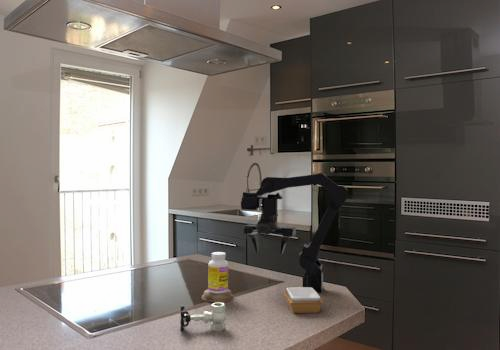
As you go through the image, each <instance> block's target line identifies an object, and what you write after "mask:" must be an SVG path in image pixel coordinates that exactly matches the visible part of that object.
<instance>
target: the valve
mask: <svg viewBox="0 0 500 350" xmlns="http://www.w3.org/2000/svg"><path fill="white" fill-rule="evenodd" d="M210 311H211V312H209V311H208V310H207V311H203V313H201V314H200V313H196V314H195V313H194V315H191V313H189V312H188V311H187V310H185V305H180V331H181V332H183V331H185V328H186V327H188V326H189V324H190V323H191V321H194V322H200V321H202V322H204V324H209V323H210V322H211V323H210V329H211V330H212V331H213V332H222V331H224V330H225V329H226V319H227V318H226V317H227V315H226V304H225V302H222V303H220V302H217V303H212V304H211V305H210Z"/></svg>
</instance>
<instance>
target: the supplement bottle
mask: <svg viewBox="0 0 500 350" xmlns="http://www.w3.org/2000/svg"><path fill="white" fill-rule="evenodd" d="M226 256H227V255H226V252H224V251H214V252H211V256H210V257H211V260H209V262H208V271H207V273H208V275H207V282H208V283H207V284H208V285H207V289H208V291H209V292H210V293H213V294H223V293H226V292H227V291H228V289H229V262H228V261H227V260H226Z"/></svg>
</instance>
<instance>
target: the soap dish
mask: <svg viewBox="0 0 500 350" xmlns="http://www.w3.org/2000/svg"><path fill="white" fill-rule="evenodd" d="M283 293H284V295H285V299H286V302H287V304H288V306H289V308H290V310H291V312H292V313H293V314H296V313H297V314H300V313H301V314H302V313H303V314H304V313H305V314H306V313H320V309H321V308H322V305H323V300H322V299H321V296H320V295H319V294H318V292H316V291H315V290H314V289H313V288H311V287H303V286H301V287H299V286H297V287H295V286H294V287H286V290H284V291H283Z"/></svg>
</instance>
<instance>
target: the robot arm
mask: <svg viewBox="0 0 500 350" xmlns="http://www.w3.org/2000/svg"><path fill="white" fill-rule="evenodd" d="M311 185H312V186H314V185H319V186H321V188H323V189H324V190H325V191H327V192H328V193H329V194H330V197H329V201H328V205H327V208H326V210H325V212H324V214H323V216H322V219H321V221H320V222H319V225H318V227H317V229H316V231H315V233H314V234H313V235H314V236H313V238H312V239H311V241H310V242H309V244H307V243H304V245H303V247H302V250H301V252H300V253H299V255H298V257H299V260H298V263H299V266H300V267H301V268H302V269H303V270H304V273H303V274H304V275H302V287H311V288H313V289H314V290H315V291H316V292H317V293H322V292H323V290H324V288H325V287H324V271H322V268H323V264H322V262H320V261H319V259H318V256H319V251H320V250H321V249H320V248H321V246H322V244H323V241H324V240H325V237H326V236H327V233H328V232H329V231H330V228H331V225H332V224H333V221H334V219H335V216H336V215H337V213H338V212H339V210H340V209H341V208H342V206H343V205H344V203H345V202H346V201H347V200H348V197H349V191H348V188H347V187H346V186H345V185H342V184H341V185H340V184H337V183H336V182H335V181H333V180H332V179H330V177H328V176H327V175H326V174H325V173H323V172H320V173H316V174H308V175H300V176H292V177H281V176H280V177H279V176H267V177H264V178H263V179H262V180H261V182H260V187H259V189H257V191H256V192H249V191H248V192H247V191H243V192H242V196H241V201H240V208H241V209H240V210H241V211H246V212H247V211H249V212H251V211H255V212H256V211H257V212H258V210H259V209H261V214H260V219H259V220H258V222H257V223H256V224H251V223H250V224H246V225H244V226H243V228H242V233H243V234H244V235H245V234H246V237H248V238H250V240H251V242H252V245H253V247H254V249H255V253H256V254H258V253H259V251H260V250H259V249H260V240H259V239H260V237H259V236H260V235H262V234H265V235H269V234H281V236H280V256H282V255H283V254H284V251H285V248H286V245H287V243H288V241H289V239H291V238H293V237H294V236H296V235H297V229H296V227H295V226H284V227H282V228H279V224H278V217H279V213H278V200H283V199H284V197H283V195H282V194H280V192H279V191H281V190H284V189H287V188H296V187H303V186H306V187H307V186H311ZM277 191H278V192H277ZM274 192H276V193H275V194H272V193H274ZM266 194H267V196H265V195H266Z"/></svg>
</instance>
